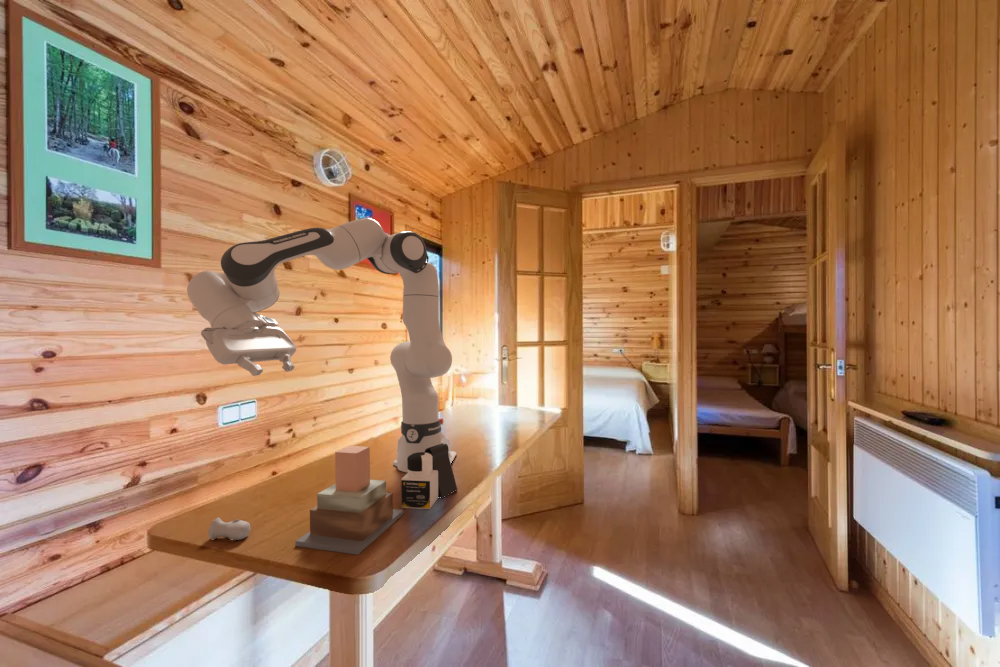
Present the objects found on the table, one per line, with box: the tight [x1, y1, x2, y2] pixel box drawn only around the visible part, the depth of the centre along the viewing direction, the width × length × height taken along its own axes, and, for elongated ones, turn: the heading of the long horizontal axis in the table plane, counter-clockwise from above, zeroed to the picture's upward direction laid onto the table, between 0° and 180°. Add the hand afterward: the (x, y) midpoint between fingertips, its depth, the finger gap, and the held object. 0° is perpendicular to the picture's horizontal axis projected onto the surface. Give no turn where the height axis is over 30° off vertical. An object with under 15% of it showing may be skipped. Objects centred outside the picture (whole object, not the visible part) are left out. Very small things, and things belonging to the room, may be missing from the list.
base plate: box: [295, 508, 404, 555], centre depth 91 cm, size 18×14×1 cm
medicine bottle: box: [400, 452, 439, 510], centre depth 104 cm, size 7×7×12 cm
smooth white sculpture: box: [208, 517, 251, 541], centre depth 88 cm, size 4×8×5 cm
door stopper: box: [425, 443, 458, 499], centre depth 111 cm, size 9×6×12 cm, turn 54°
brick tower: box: [309, 478, 394, 541], centre depth 91 cm, size 12×12×8 cm
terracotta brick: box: [334, 445, 371, 492], centre depth 91 cm, size 5×5×8 cm
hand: (275, 371), depth 95 cm, fingers open, 8 cm apart
